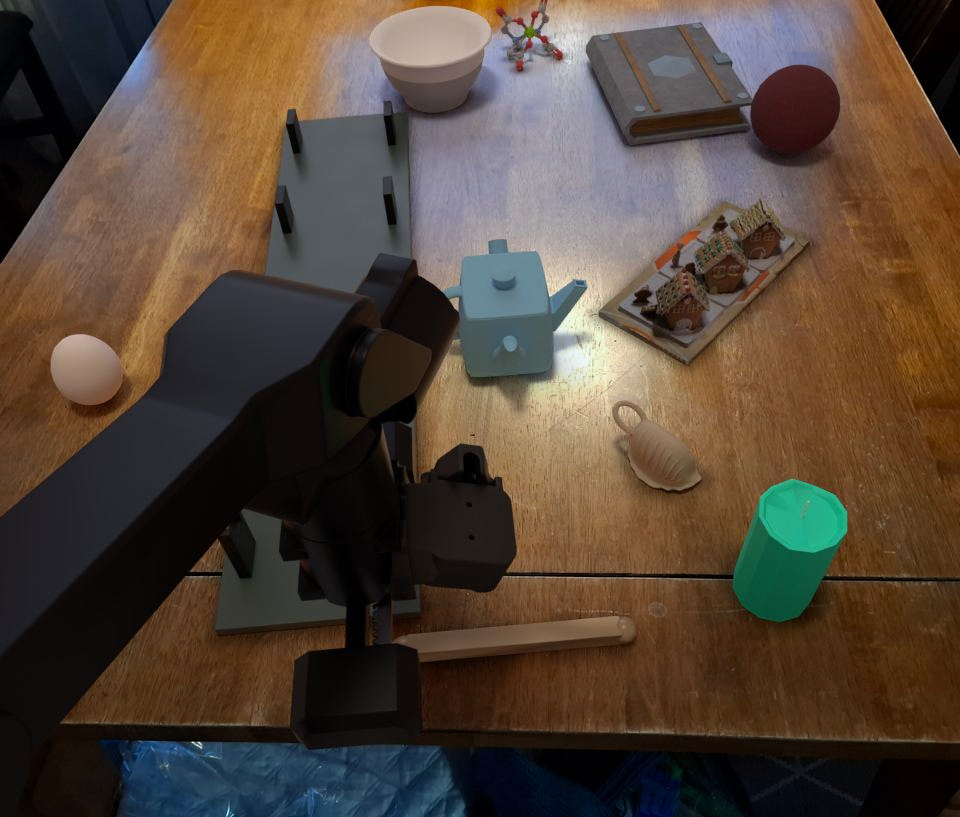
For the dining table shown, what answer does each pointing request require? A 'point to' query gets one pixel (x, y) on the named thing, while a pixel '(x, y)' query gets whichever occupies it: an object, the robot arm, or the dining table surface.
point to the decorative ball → (795, 109)
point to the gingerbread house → (705, 280)
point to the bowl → (432, 54)
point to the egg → (86, 369)
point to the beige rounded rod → (521, 638)
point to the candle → (788, 549)
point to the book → (668, 83)
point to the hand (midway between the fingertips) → (382, 633)
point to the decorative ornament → (657, 453)
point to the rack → (332, 264)
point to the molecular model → (527, 34)
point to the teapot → (509, 312)
